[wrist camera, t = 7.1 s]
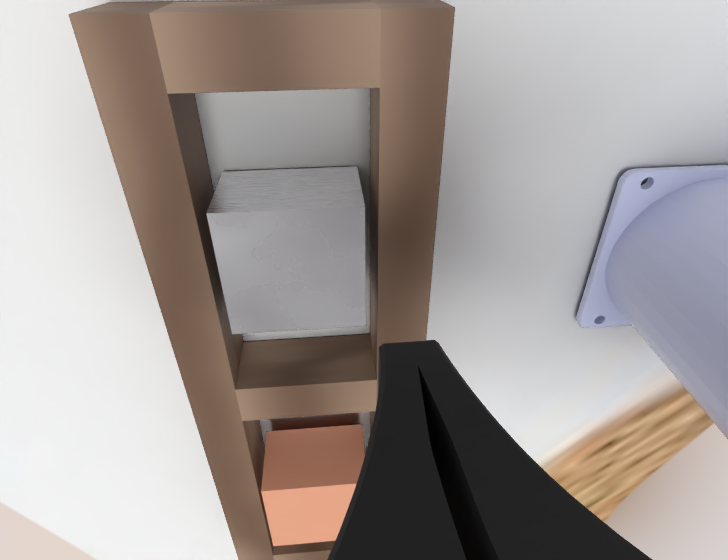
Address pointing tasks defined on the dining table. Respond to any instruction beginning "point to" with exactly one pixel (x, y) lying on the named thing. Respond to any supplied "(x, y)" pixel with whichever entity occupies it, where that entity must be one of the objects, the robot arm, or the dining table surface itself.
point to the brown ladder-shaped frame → (195, 191)
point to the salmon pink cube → (310, 481)
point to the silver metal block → (290, 248)
